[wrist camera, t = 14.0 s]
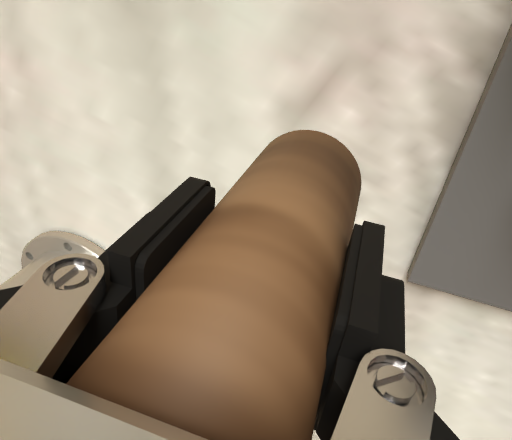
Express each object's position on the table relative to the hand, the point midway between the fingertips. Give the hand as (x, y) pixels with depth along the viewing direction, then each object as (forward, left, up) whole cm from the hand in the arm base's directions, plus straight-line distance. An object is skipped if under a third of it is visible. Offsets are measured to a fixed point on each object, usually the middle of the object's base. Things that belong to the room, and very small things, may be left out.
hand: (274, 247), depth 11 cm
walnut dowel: (0, 0, -5) cm, 5 cm away
